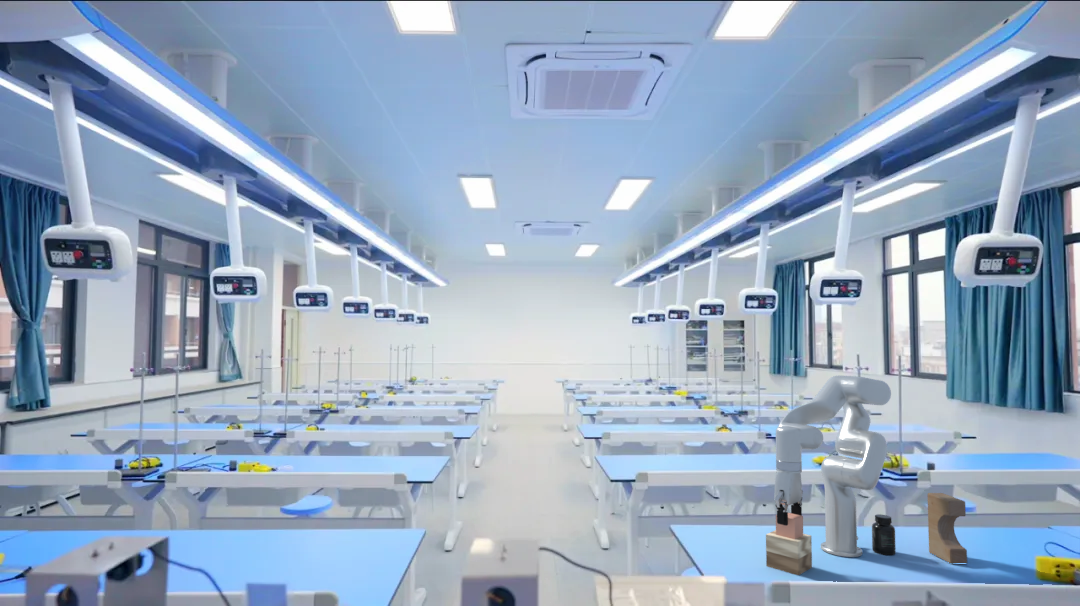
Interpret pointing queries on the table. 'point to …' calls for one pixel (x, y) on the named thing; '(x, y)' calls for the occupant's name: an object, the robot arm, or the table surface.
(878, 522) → the supplement bottle
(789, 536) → the terracotta cube
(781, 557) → the walnut base block
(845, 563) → the table surface
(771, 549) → the maple top block
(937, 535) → the decorative block
